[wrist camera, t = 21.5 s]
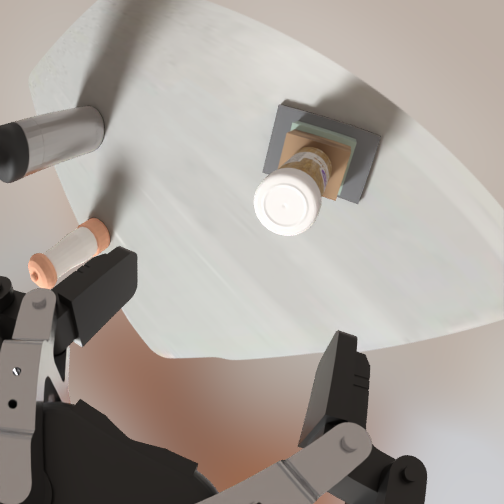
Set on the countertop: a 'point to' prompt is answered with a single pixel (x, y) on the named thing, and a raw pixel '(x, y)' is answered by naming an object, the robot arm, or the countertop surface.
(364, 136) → the build plate
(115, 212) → the countertop surface
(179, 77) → the countertop surface
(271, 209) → the sprinkles bottle
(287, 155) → the walnut brick
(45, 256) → the salt shaker
